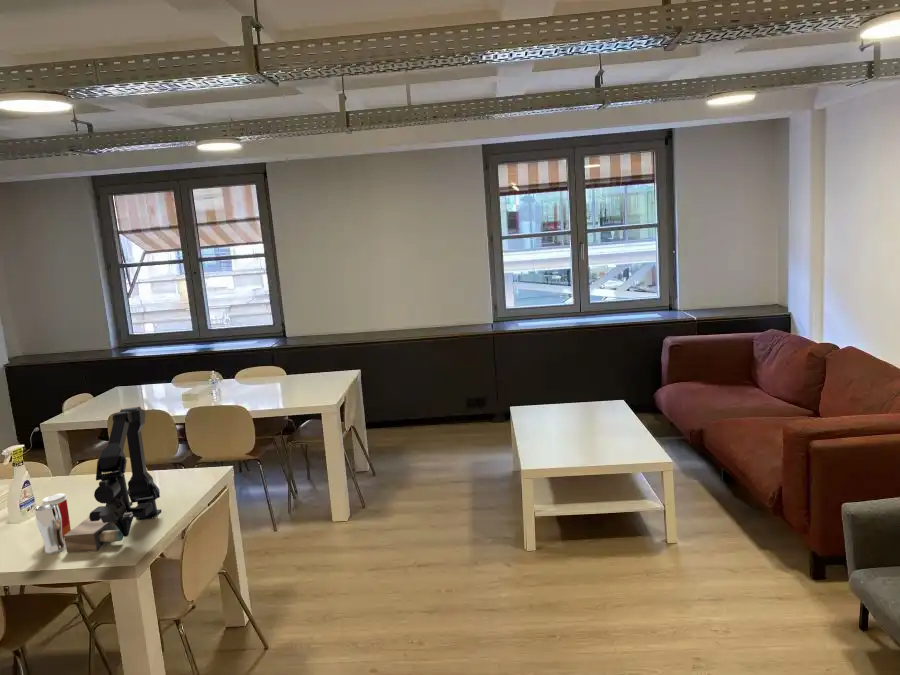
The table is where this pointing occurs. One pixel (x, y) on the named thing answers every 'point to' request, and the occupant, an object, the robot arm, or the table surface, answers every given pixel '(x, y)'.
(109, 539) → the dowel
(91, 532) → the socket block
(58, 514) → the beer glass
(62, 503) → the red canister
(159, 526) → the table surface
